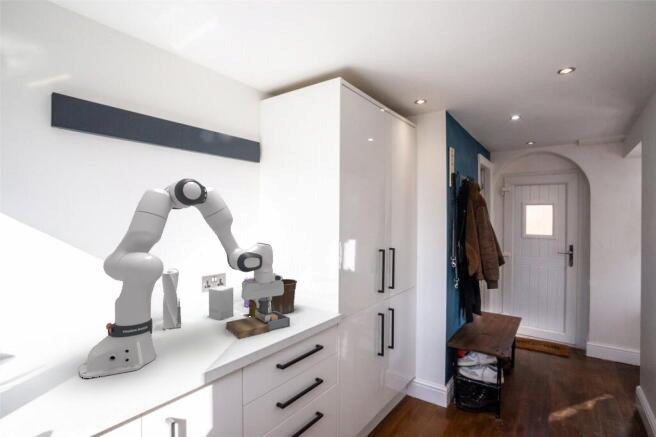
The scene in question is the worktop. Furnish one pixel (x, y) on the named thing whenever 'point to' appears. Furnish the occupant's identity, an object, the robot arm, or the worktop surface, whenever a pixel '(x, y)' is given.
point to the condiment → (251, 308)
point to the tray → (279, 321)
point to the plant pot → (285, 298)
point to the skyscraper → (171, 300)
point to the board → (247, 327)
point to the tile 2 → (273, 317)
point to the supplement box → (220, 302)
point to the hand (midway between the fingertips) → (263, 306)
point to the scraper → (263, 311)
